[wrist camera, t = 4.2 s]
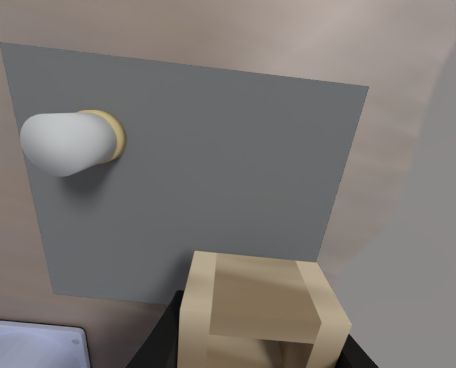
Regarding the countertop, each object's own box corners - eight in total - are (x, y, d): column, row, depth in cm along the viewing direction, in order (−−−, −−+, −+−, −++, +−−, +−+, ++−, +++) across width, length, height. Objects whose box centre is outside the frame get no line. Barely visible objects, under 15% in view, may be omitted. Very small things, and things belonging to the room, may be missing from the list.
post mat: (294, 304, 15) (315, 370, 11) (64, 282, 15) (7, 342, 11) (356, 88, 10) (428, 77, 7) (21, 48, 10) (-107, 12, 6)
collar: (291, 346, 12) (311, 422, 9) (188, 337, 11) (175, 412, 9) (316, 262, 10) (352, 325, 7) (194, 250, 10) (179, 309, 7)
